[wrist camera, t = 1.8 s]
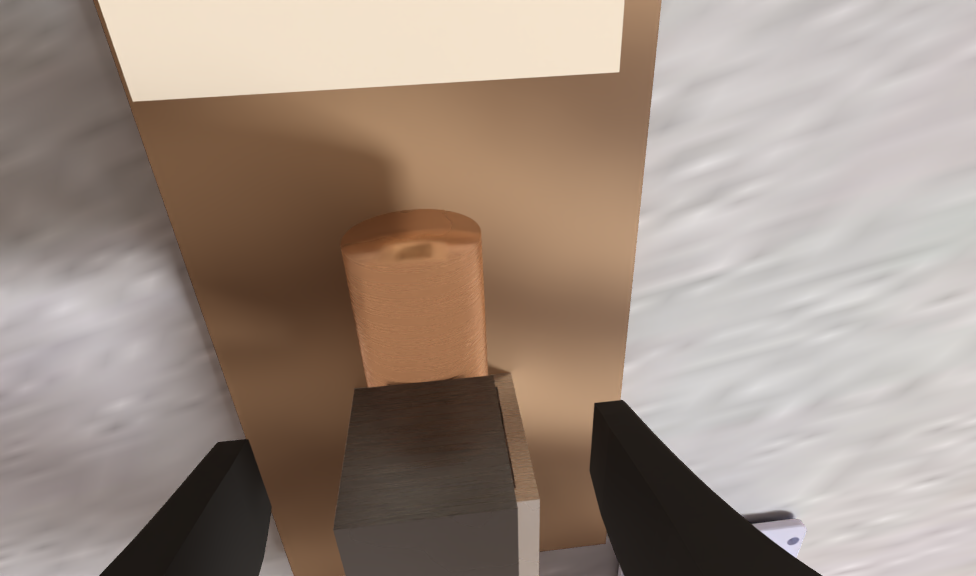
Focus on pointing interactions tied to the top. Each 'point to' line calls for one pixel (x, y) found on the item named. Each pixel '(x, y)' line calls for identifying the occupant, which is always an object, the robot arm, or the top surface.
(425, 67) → the cream rectangular block
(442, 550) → the brown piece
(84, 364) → the top surface
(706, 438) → the top surface
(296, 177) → the walnut board
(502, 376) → the sleeve
